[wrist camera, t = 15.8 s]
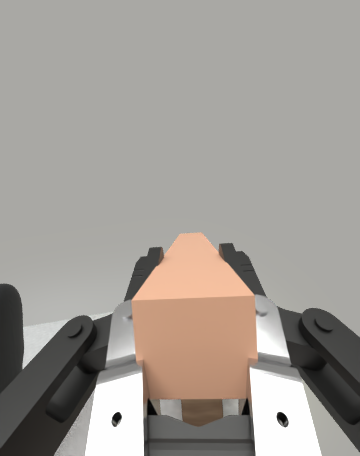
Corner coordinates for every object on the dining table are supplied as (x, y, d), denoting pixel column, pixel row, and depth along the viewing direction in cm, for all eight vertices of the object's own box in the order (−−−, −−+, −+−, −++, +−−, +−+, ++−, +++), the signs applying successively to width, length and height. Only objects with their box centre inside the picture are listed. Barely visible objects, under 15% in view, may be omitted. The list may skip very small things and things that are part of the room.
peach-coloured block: (259, 398, 5) (254, 295, 5) (139, 399, 5) (131, 300, 5) (202, 251, 29) (201, 232, 29) (181, 252, 29) (179, 233, 29)
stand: (223, 426, 36) (214, 266, 34) (183, 426, 36) (171, 268, 35) (213, 362, 52) (206, 251, 50) (185, 363, 52) (177, 252, 51)
